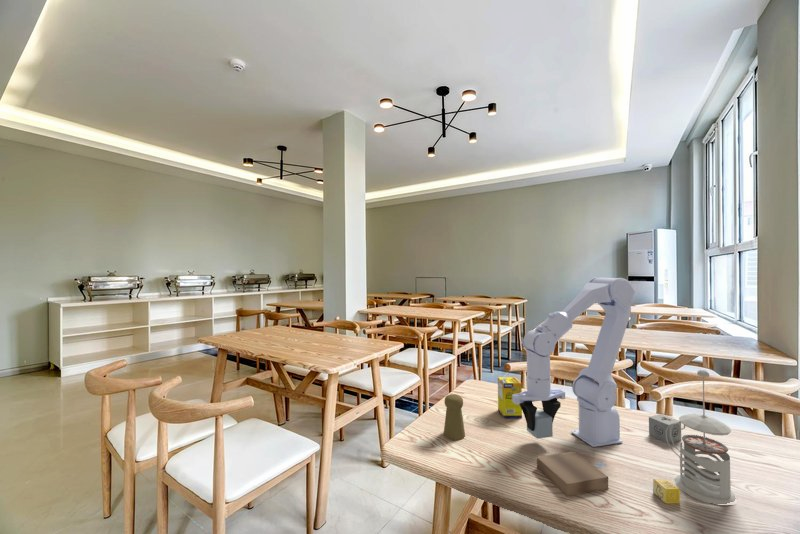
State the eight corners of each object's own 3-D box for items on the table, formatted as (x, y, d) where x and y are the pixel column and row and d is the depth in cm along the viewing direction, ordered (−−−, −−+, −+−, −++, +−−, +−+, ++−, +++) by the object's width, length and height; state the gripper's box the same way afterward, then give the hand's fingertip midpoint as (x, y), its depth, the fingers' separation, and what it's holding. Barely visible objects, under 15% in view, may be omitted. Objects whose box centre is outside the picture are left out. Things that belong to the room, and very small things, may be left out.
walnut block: (573, 463, 80) (573, 451, 80) (608, 490, 70) (608, 476, 70) (537, 469, 78) (536, 457, 78) (567, 498, 68) (567, 484, 68)
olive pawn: (441, 438, 92) (440, 398, 92) (446, 428, 98) (445, 390, 98) (462, 442, 90) (462, 401, 90) (467, 431, 95) (466, 393, 95)
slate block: (541, 428, 91) (541, 410, 91) (552, 436, 86) (552, 417, 86) (526, 430, 90) (526, 411, 90) (537, 438, 85) (536, 419, 85)
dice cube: (681, 440, 89) (681, 421, 89) (668, 443, 87) (668, 424, 87) (661, 431, 94) (660, 413, 94) (649, 435, 92) (648, 416, 92)
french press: (722, 512, 63) (720, 380, 63) (655, 477, 74) (653, 364, 74) (748, 497, 67) (746, 373, 67) (680, 466, 78) (679, 359, 78)
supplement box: (522, 418, 103) (522, 382, 103) (503, 418, 103) (502, 383, 103) (516, 409, 109) (515, 376, 109) (497, 410, 109) (497, 376, 109)
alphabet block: (667, 492, 69) (667, 478, 69) (680, 503, 66) (680, 488, 66) (652, 493, 69) (652, 478, 69) (665, 504, 66) (665, 488, 66)
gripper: (552, 369, 94) (553, 418, 94) (505, 374, 90) (506, 424, 91) (570, 377, 87) (571, 430, 87) (520, 383, 84) (521, 437, 84)
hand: (539, 427), depth 88 cm, fingers closed on slate block, 4 cm apart
